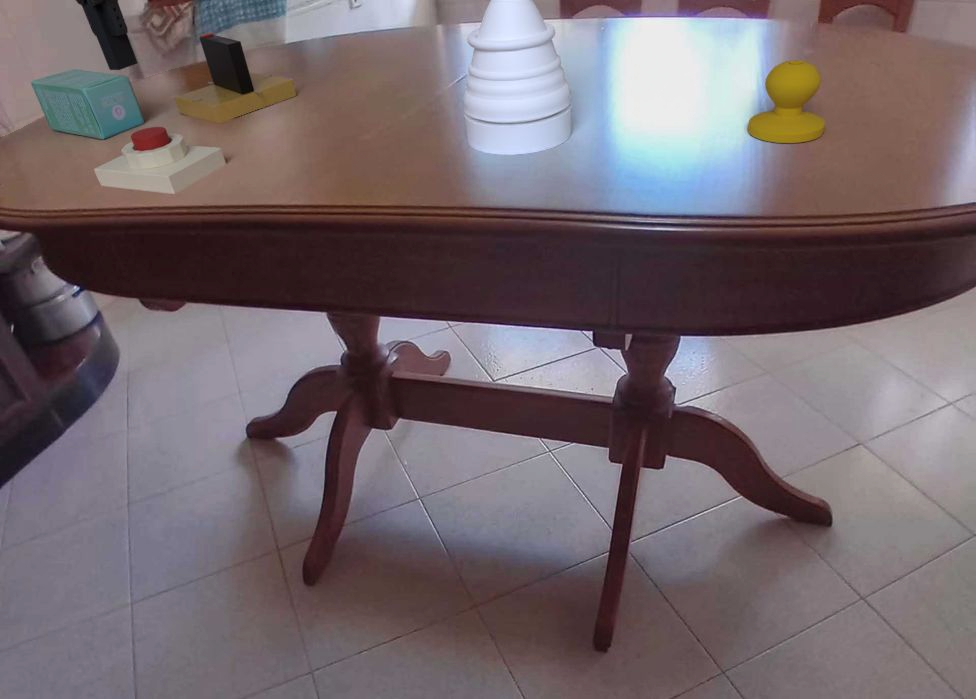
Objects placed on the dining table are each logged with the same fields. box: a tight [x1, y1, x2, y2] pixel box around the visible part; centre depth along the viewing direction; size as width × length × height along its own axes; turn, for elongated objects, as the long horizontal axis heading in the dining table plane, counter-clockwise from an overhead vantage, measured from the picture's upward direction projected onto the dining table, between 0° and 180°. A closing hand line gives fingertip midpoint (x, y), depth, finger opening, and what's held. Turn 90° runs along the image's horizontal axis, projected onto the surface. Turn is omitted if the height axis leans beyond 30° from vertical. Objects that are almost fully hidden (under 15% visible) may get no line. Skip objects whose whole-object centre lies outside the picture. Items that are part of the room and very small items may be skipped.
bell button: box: [130, 126, 171, 151], centre depth 83 cm, size 4×4×2 cm
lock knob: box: [199, 32, 254, 95], centre depth 105 cm, size 10×2×7 cm, turn 42°
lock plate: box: [173, 72, 297, 124], centre depth 108 cm, size 14×14×3 cm
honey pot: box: [462, 0, 573, 156], centre depth 81 cm, size 13×13×18 cm
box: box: [30, 68, 145, 141], centre depth 103 cm, size 7×14×8 cm, turn 59°
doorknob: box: [747, 59, 826, 144], centre depth 77 cm, size 8×8×8 cm
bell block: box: [93, 132, 227, 195], centre depth 85 cm, size 12×9×4 cm
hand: (123, 66), depth 78 cm, fingers closed
